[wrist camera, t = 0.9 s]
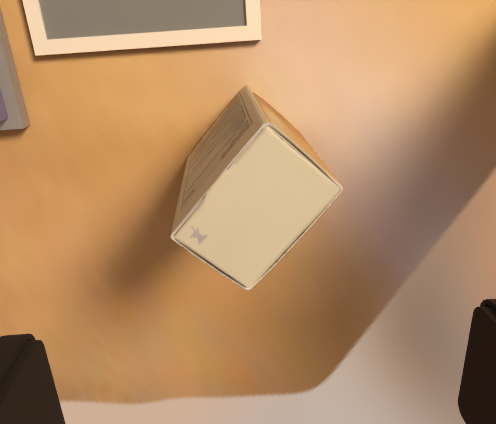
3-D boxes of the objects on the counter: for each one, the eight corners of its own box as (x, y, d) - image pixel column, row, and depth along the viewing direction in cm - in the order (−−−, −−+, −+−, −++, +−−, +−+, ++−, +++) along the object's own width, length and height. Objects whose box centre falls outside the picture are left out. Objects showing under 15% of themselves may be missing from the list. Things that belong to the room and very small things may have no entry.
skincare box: (236, 197, 31) (244, 300, 20) (184, 157, 30) (161, 243, 18) (301, 123, 29) (350, 190, 18) (248, 78, 28) (267, 120, 17)
